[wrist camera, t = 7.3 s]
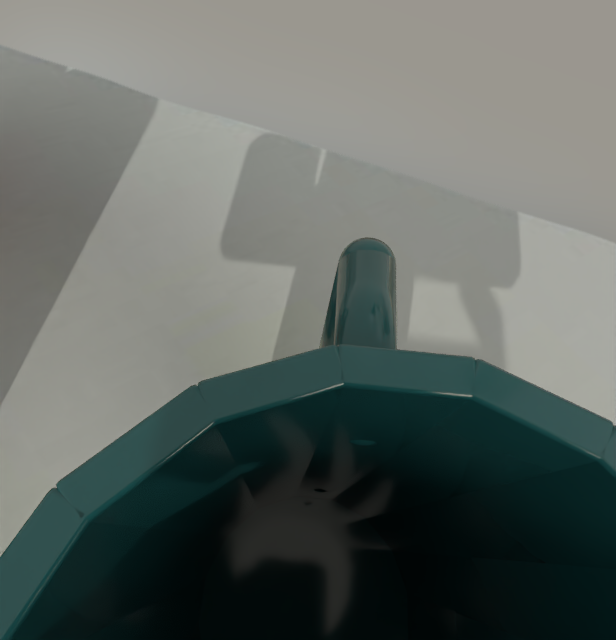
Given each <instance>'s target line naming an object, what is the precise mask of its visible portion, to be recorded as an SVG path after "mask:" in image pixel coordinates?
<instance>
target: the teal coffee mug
mask: <svg viewBox="0 0 616 640" xmlns="http://www.w3.org/2000/svg"><path fill="white" fill-rule="evenodd" d="M56 486H57V488H52V489H51V490H50V491H49V492H48V493H47V494H46V496H45V497H44V499H43V500H42V501H41V503H40V504H39V505H38V507H37V508H36V509H35V511H34V512H33V514H32V515H31V516H30V518H29V519H28V520H27V522H26V523H25V524H24V526H23V527H22V528H21V530H20V531H19V533H18V534H17V535H16V537H15V538H14V539H13V541H12V542H11V543H10V545H9V546H8V547H7V549H6V550H5V552H4V553H3V554H2V556H1V557H0V640H616V426H615V425H613V423H612V422H611V421H610V420H608V419H606V418H604V417H601V416H599V415H597V414H595V413H593V412H591V411H589V410H587V409H585V408H582V407H580V406H578V405H576V404H574V403H572V402H570V401H568V400H566V399H563V398H561V397H559V396H557V395H555V394H553V393H551V392H549V391H546V390H544V389H542V388H540V387H538V386H536V385H534V384H532V383H530V382H527V381H525V380H523V379H521V378H519V377H517V376H515V375H513V374H511V373H508V372H506V371H504V370H502V369H500V368H498V367H496V366H494V365H491V364H489V363H487V362H485V361H483V360H479V359H477V360H475V358H473V357H467V356H456V355H446V354H436V353H426V352H416V351H406V350H397V312H396V261H395V257H394V254H393V252H392V251H391V249H390V248H389V247H388V246H387V245H386V244H385V243H384V242H382V241H380V240H378V239H375V238H360V239H357V240H355V241H353V242H352V243H350V244H349V245H348V246H347V247H346V248H345V249H344V251H343V252H342V254H341V256H340V259H339V263H338V267H337V272H336V276H335V280H334V285H333V289H332V293H331V298H330V302H329V307H328V311H327V315H326V320H325V324H324V328H323V333H322V337H321V342H320V346H319V349H315V350H312V351H308V352H304V353H301V354H297V355H293V356H290V357H286V358H283V359H279V360H275V361H272V362H268V363H265V364H261V365H257V366H254V367H250V368H246V369H243V370H239V371H236V372H232V373H228V374H225V375H221V376H217V377H214V378H210V379H207V380H203V381H201V382H199V383H198V386H197V385H193V386H190V387H189V388H188V389H186V390H185V391H183V392H182V393H181V394H179V395H178V396H176V397H175V398H174V399H172V400H171V401H169V402H168V403H167V404H165V405H164V406H163V407H161V408H160V409H158V410H157V411H156V412H154V413H153V414H151V415H150V416H149V417H147V418H146V419H144V420H143V421H142V422H140V423H139V424H138V425H136V426H135V427H133V428H132V429H131V430H129V431H128V432H126V433H125V434H124V435H122V436H121V437H119V438H118V439H117V440H115V441H114V442H113V443H111V444H110V445H108V446H107V447H106V448H104V449H103V450H101V451H100V452H99V453H97V454H96V455H94V456H93V457H92V458H90V459H89V460H88V461H86V462H85V463H83V464H82V465H81V466H79V467H78V468H76V469H75V470H74V471H72V472H71V473H69V474H68V475H67V476H65V477H64V478H62V479H61V480H60V481H59V482H58V483H57V484H56Z"/></svg>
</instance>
